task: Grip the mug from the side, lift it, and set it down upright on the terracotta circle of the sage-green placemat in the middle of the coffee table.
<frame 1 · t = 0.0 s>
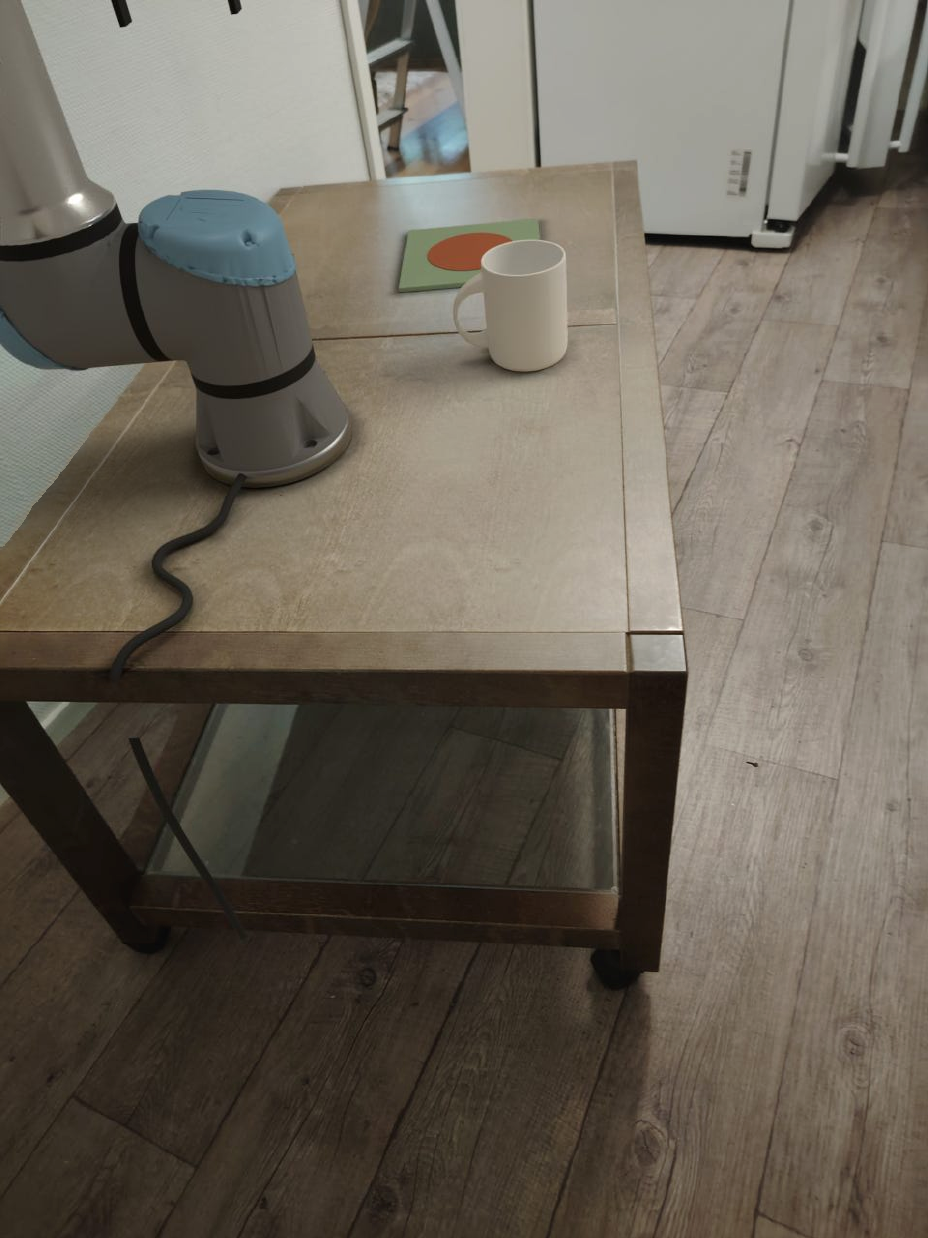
hand: (181, 18, 106), 28 cm above the table, tool pointing down, fingers open, 13 cm apart
placemat: (472, 255, 117), on the table
mug: (513, 357, 98), on the table
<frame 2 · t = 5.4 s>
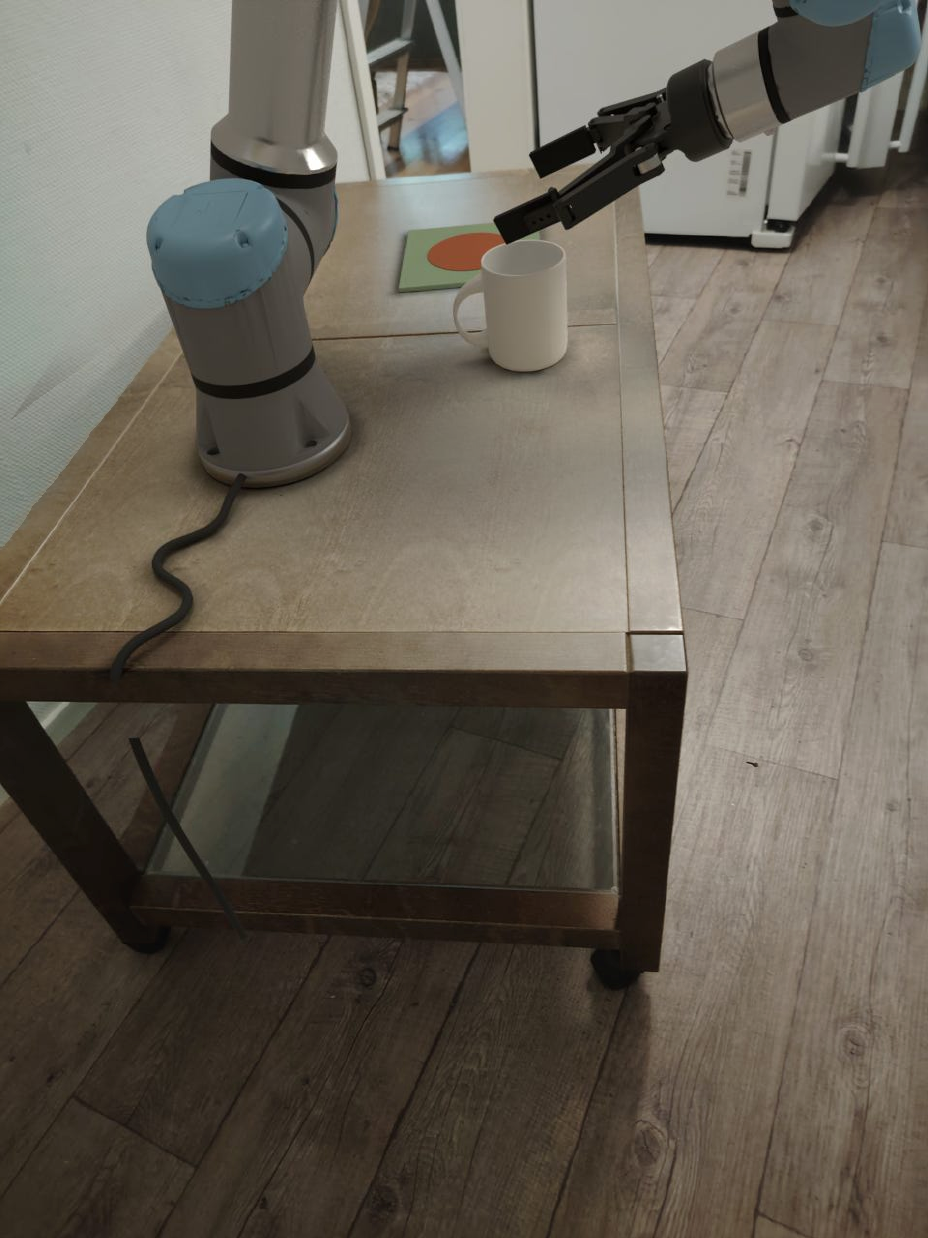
hand: (518, 196, 91), 15 cm above the table, tool tilted 65°, fingers open, 13 cm apart
nothing on the table moved.
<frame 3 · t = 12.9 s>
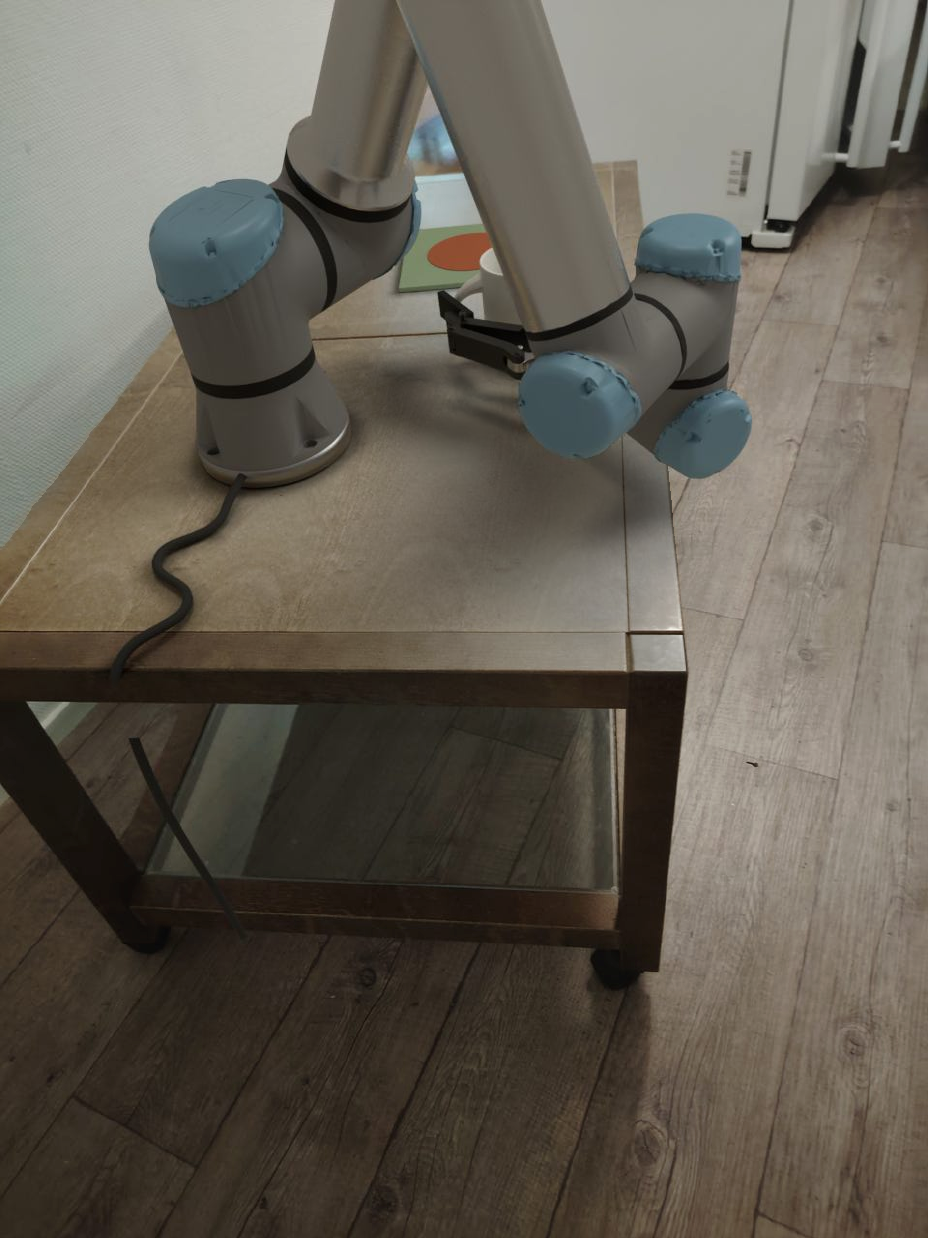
hand: (491, 286, 96), 6 cm above the table, tool horizontal, fingers closed on mug, 11 cm apart
mug: (511, 357, 98), on the table, touching gripper
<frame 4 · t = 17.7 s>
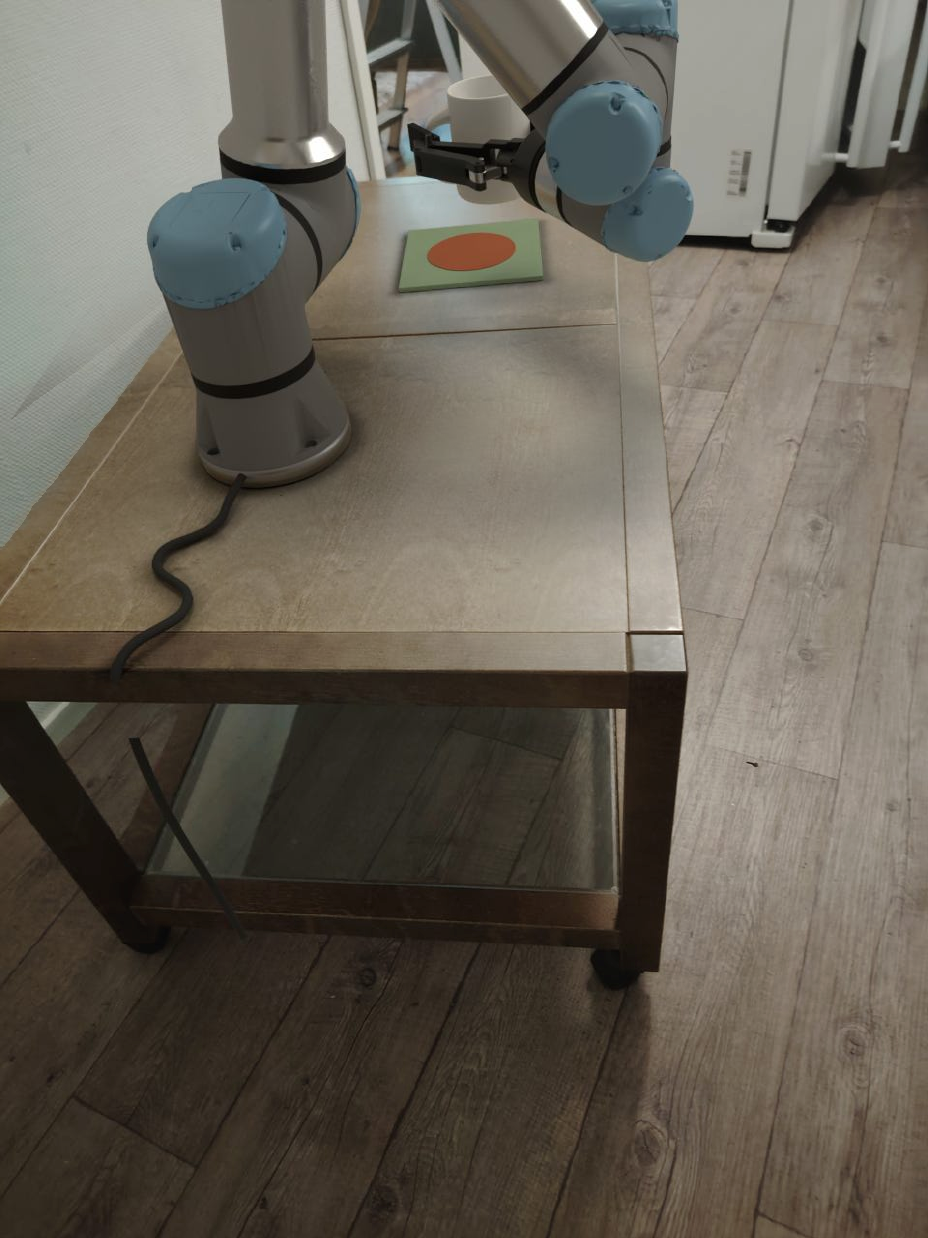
hand: (460, 123, 100), 18 cm above the table, tool horizontal, fingers closed on mug, 11 cm apart
mug: (480, 195, 102), point 11 cm above the table, touching gripper
when the fingers open (7 cm above the table, at t = 22.7 s): mug stays where it is, resting on placemat.
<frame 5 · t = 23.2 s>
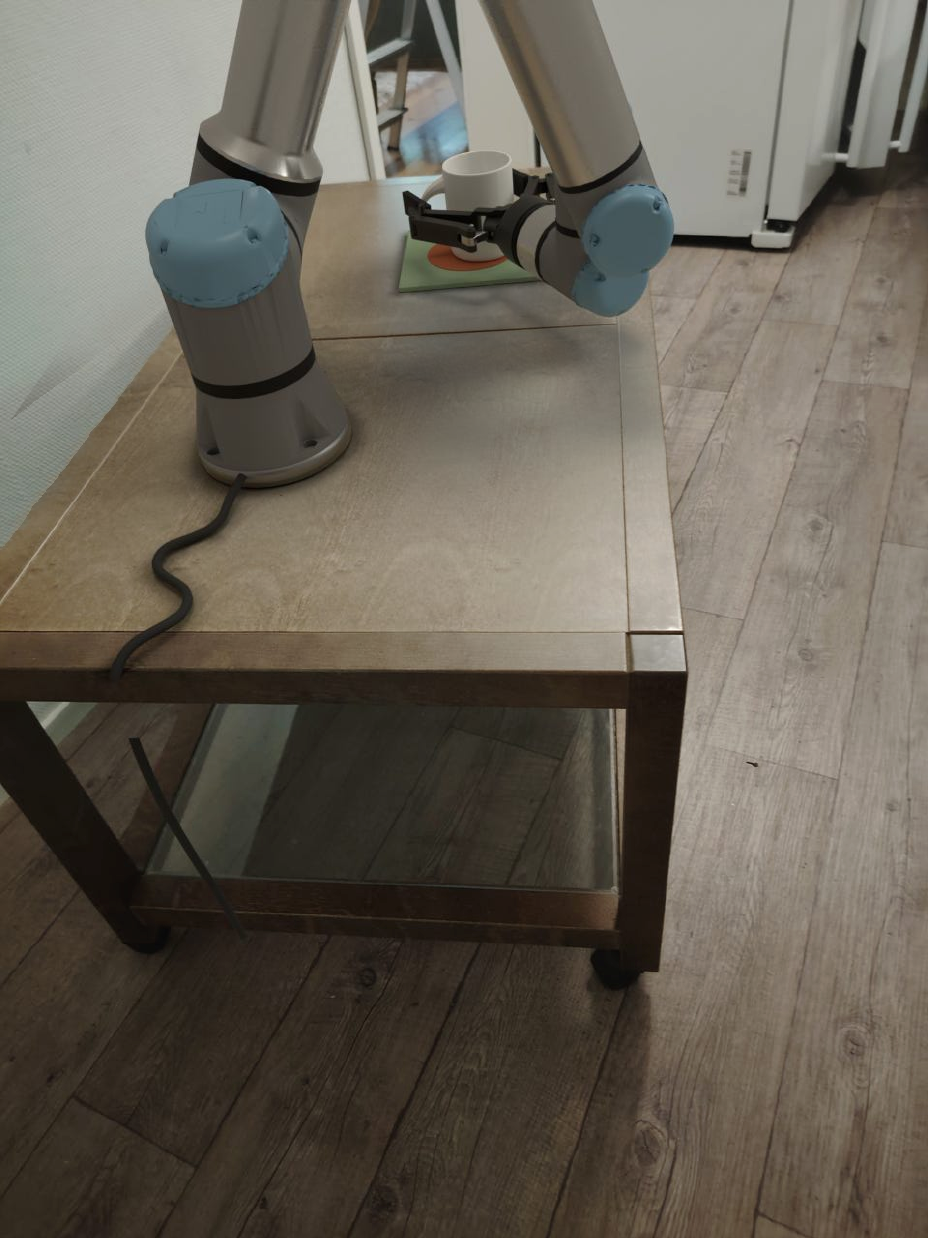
hand: (453, 187, 114), 8 cm above the table, tool horizontal, fingers open, 13 cm apart
mug: (471, 252, 117), point 1 cm above the table, touching placemat
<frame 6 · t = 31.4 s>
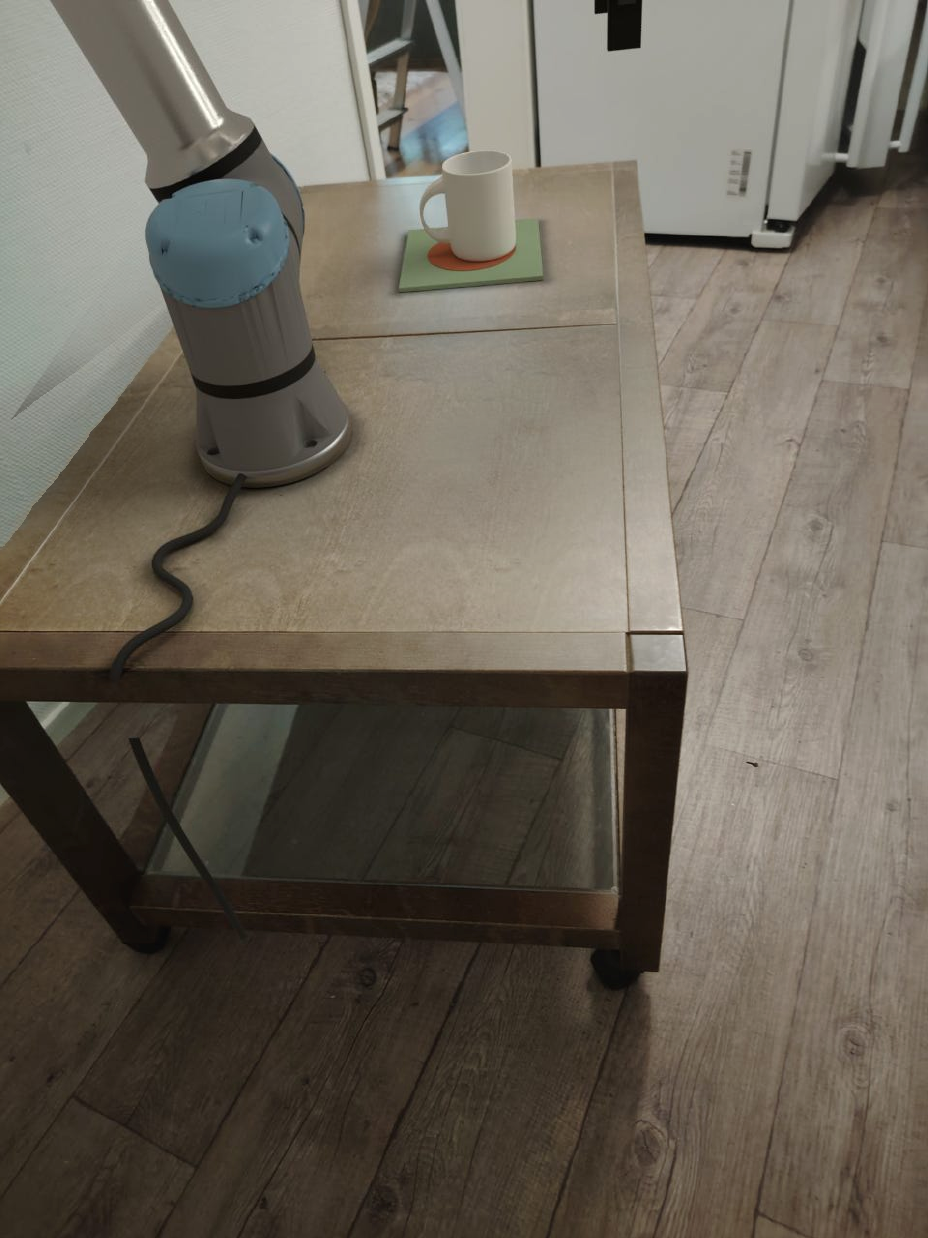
hand: (616, 29, 80), 29 cm above the table, tool pointing down, fingers open, 13 cm apart
nothing on the table moved.
at the end: mug inside the target area on the placemat (0.1 cm from its centre), point 0.5 cm above the placemat's base; mug tilted 0°; the gripper is holding nothing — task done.
